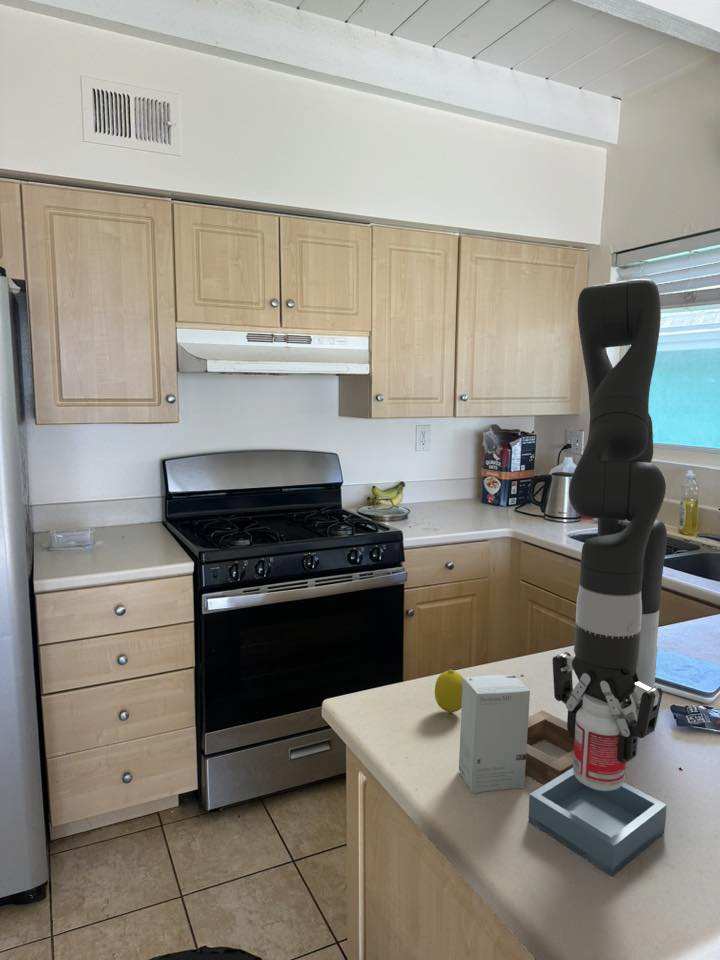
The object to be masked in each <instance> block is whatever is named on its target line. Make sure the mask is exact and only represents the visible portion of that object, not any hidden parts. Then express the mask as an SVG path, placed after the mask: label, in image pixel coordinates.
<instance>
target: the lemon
mask: <svg viewBox="0 0 720 960" xmlns="http://www.w3.org/2000/svg"><path fill="white" fill-rule="evenodd" d="M462 678H464V677H463V676H462V675H461V674H460V673H459V672H458V671H455V670H453V669H449V670H446V671H443V672H442V673H441V674H440V675H439V676H438V677H437V678H436V682H435V686H434V698H435V701H436V703H437V706H438V707H439V708H440V709H442V710H443V711H445V712H447V713H448V714H450V715H451V714H454V713H456V712H458V711H461V706H462Z"/></svg>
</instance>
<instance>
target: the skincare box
mask: <svg viewBox="0 0 720 960" xmlns="http://www.w3.org/2000/svg"><path fill="white" fill-rule="evenodd" d="M530 694H531V690H530V689H529V688H528V687H527V686H526V685H525V684H524V683H523V681H521V680H520V679H519V678H518V677H517V676H515V675H514V674H498V675H496V674H495V675H494V674H487V675H486V674H485V675H481V676H466V677H463V678H462V706H461V709H460V711H461V712H460V733H459V735H460V736H459V758H458V771H459V773H460V775H461V776H462V779H463V780H464V782H465V784H466V786H467V788H468V789H469V790H470V791H469V792H470V793H471V794H478V793H485V792H492V791H493V792H494V791H499V790H508V789H509V790H510V789H522V788H524V787H525V784H526V783H525V782H526V781H525V779H526V775H525V766H526V749H527V733H528V717H530V715H529V714H530V713H529V712H530V701H531V699H530V698H531V696H530Z"/></svg>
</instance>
